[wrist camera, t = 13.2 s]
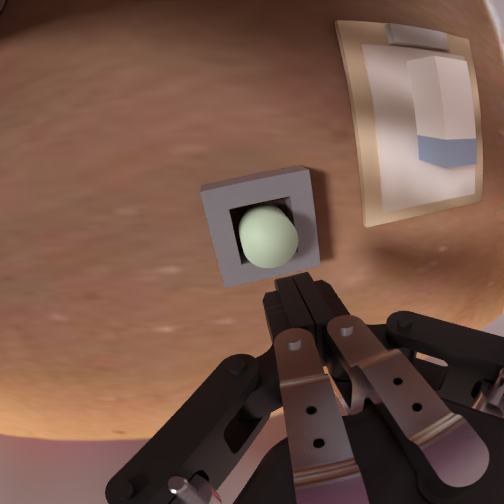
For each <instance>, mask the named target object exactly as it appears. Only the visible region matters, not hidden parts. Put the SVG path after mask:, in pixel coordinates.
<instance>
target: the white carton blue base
mask: <svg viewBox="0 0 504 504" xmlns="http://www.w3.org/2000/svg"><path fill="white" fill-rule="evenodd" d="M407 66H408V72H409V77H410V83H411V89H412V95H413V102H414V110H415V118H416V127H417V138H418V150H419V160H422V161H426V162H429V163H433V164H436V165H439V166H443V167H446V168H450V167H458V166H466V165H475V164H477V149H476V129H475V117H474V107H473V98H472V91H471V84H470V77H469V71H468V66H467V61H463V60H457V59H452V58H446V57H439V56H430V57H425V58H419V59H414V60H409V61H407Z"/></svg>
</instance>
